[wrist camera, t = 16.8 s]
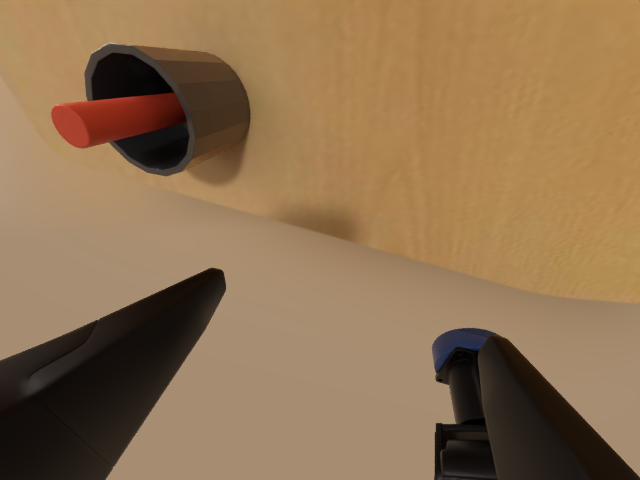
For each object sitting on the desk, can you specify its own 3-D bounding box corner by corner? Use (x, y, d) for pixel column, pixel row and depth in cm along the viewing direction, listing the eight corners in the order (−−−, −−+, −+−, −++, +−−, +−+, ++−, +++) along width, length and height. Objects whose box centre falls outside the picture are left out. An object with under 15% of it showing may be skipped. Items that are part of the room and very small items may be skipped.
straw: (219, 117, 18) (95, 151, 10) (198, 114, 18) (62, 145, 10) (216, 91, 17) (77, 107, 9) (194, 88, 17) (42, 101, 10)
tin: (252, 154, 19) (203, 183, 14) (181, 142, 20) (112, 166, 15) (246, 56, 16) (179, 50, 11) (161, 47, 16) (63, 37, 12)
